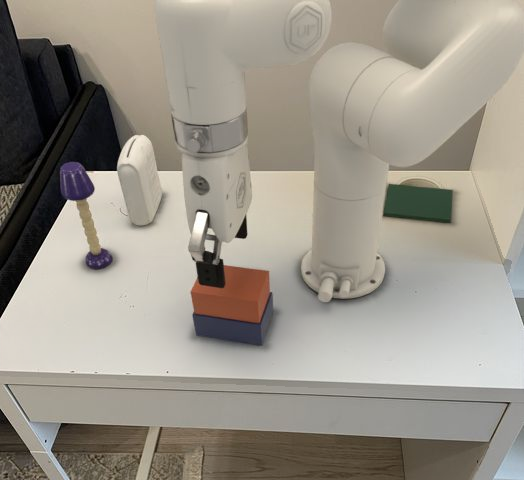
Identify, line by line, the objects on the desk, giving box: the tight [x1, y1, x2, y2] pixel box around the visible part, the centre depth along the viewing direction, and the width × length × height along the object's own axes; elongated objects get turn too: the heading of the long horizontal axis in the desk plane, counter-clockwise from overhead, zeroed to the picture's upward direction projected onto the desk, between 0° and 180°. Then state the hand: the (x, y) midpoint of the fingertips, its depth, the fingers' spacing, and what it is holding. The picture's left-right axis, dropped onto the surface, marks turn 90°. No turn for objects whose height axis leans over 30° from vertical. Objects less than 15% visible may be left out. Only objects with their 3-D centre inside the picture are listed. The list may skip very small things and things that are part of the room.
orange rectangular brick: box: [189, 264, 271, 323], centre depth 72 cm, size 6×9×4 cm, turn 76°
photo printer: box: [116, 134, 163, 226], centre depth 92 cm, size 10×4×12 cm, turn 175°
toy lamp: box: [59, 161, 114, 270], centre depth 81 cm, size 5×5×17 cm
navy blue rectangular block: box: [191, 291, 274, 346], centre depth 75 cm, size 6×10×4 cm
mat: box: [382, 183, 454, 224], centre depth 94 cm, size 9×11×1 cm
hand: (224, 259), depth 68 cm, fingers open, 9 cm apart
